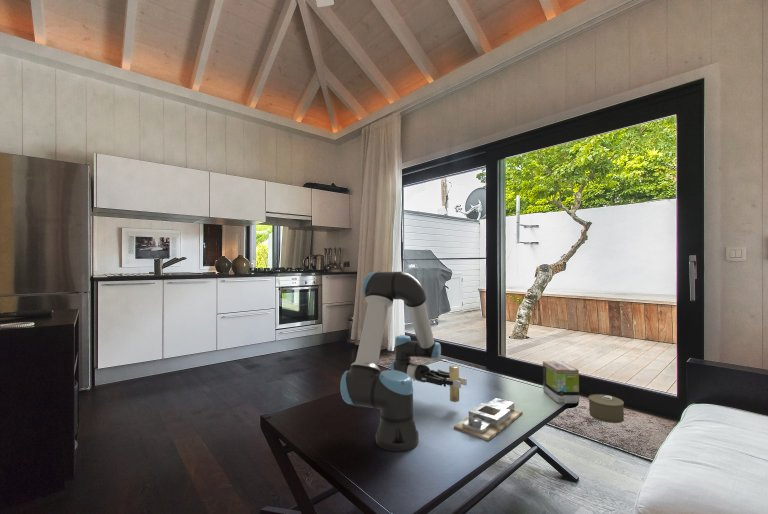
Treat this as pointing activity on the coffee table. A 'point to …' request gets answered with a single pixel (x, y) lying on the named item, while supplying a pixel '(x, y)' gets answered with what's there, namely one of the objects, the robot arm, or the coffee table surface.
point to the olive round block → (606, 408)
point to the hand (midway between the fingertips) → (463, 383)
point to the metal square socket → (488, 415)
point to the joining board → (493, 430)
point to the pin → (453, 390)
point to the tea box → (561, 381)
